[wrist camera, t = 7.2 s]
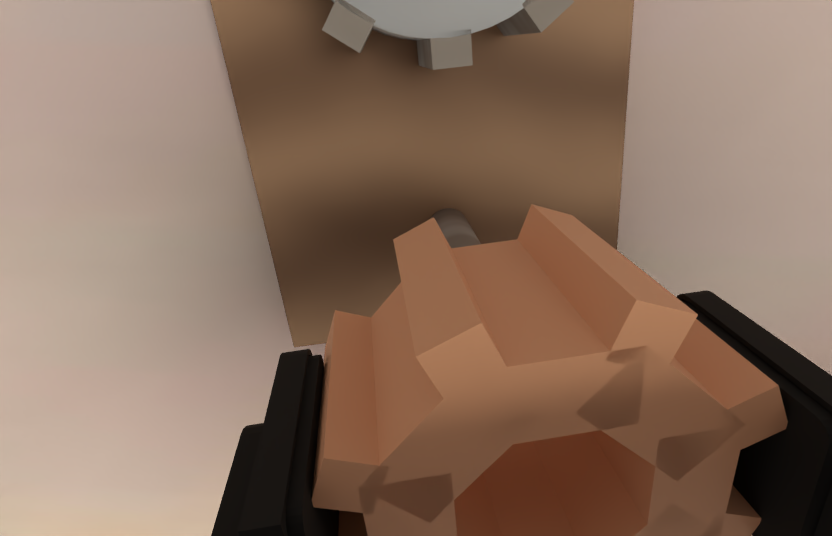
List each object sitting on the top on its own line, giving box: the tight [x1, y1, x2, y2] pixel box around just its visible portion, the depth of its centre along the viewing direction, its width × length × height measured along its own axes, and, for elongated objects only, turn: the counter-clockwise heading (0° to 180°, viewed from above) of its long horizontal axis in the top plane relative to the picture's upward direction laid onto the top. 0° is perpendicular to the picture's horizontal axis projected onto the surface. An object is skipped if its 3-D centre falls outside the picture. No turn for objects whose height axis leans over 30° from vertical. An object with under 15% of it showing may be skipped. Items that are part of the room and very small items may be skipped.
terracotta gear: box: [311, 204, 788, 536], centre depth 9 cm, size 7×7×4 cm
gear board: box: [210, 0, 634, 347], centre depth 15 cm, size 20×14×7 cm
